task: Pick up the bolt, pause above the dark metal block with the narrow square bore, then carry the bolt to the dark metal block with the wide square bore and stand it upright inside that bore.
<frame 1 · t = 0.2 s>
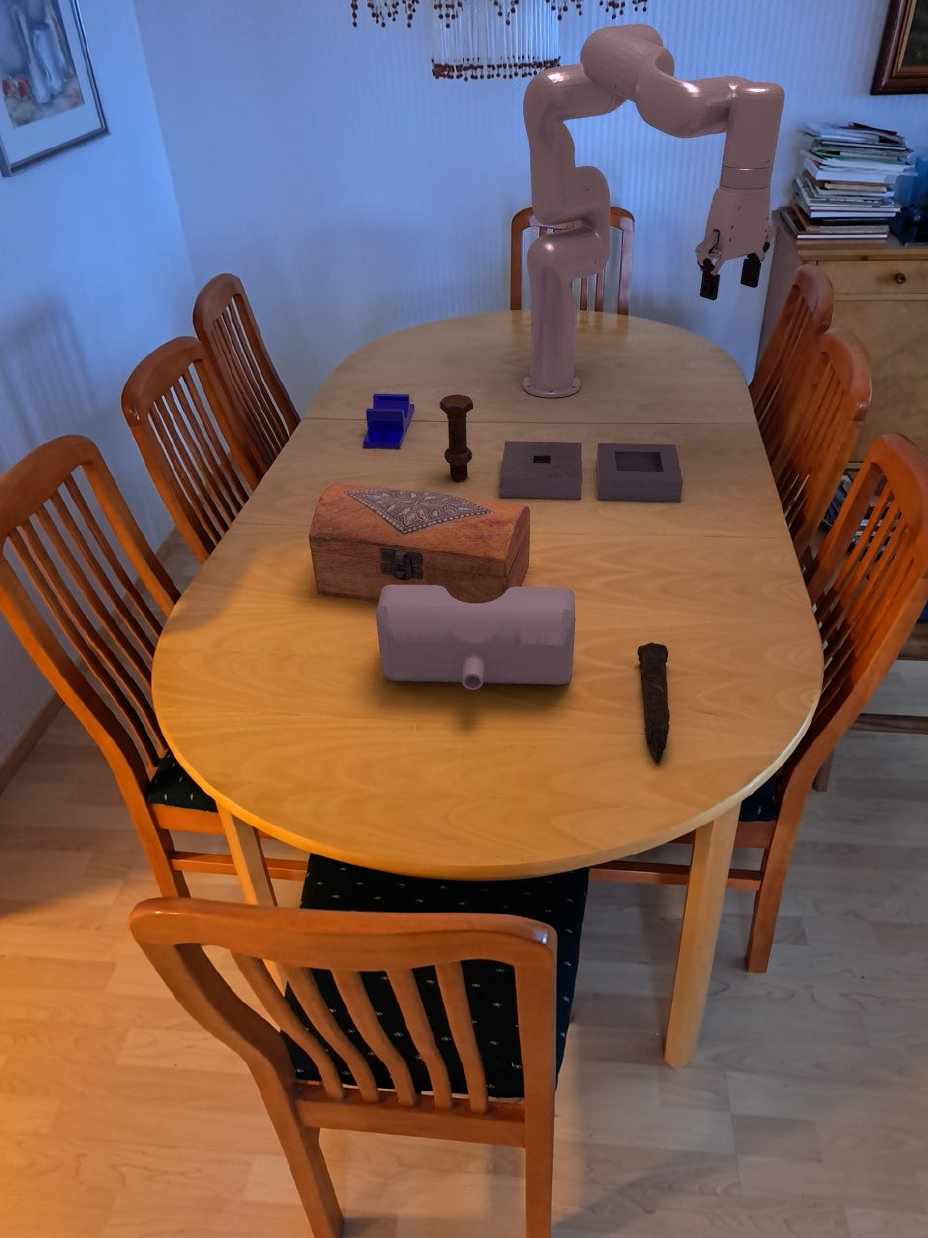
hand: (728, 291, 147), 31 cm above the table, tool pointing down, fingers open, 9 cm apart
bolt: (459, 478, 164), on the table
wide-bore block: (636, 481, 161), on the table
tank: (477, 678, 120), on the table
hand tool: (658, 713, 114), on the table
mounting bracket: (390, 431, 182), on the table
wooden box: (423, 583, 138), on the table
narrow-bore block: (541, 479, 162), on the table
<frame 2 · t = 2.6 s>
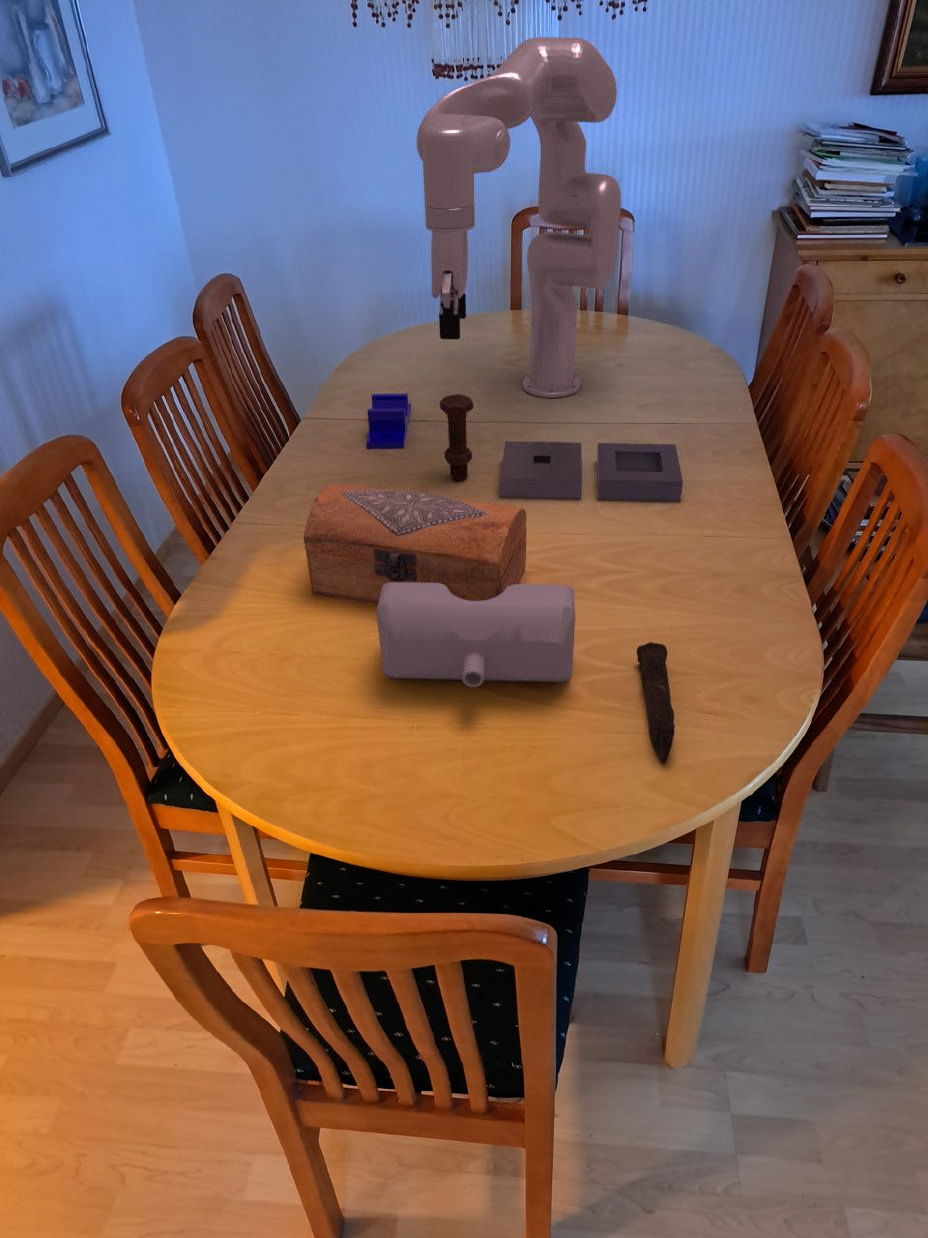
hand: (453, 328, 147), 28 cm above the table, tool pointing down, fingers open, 9 cm apart
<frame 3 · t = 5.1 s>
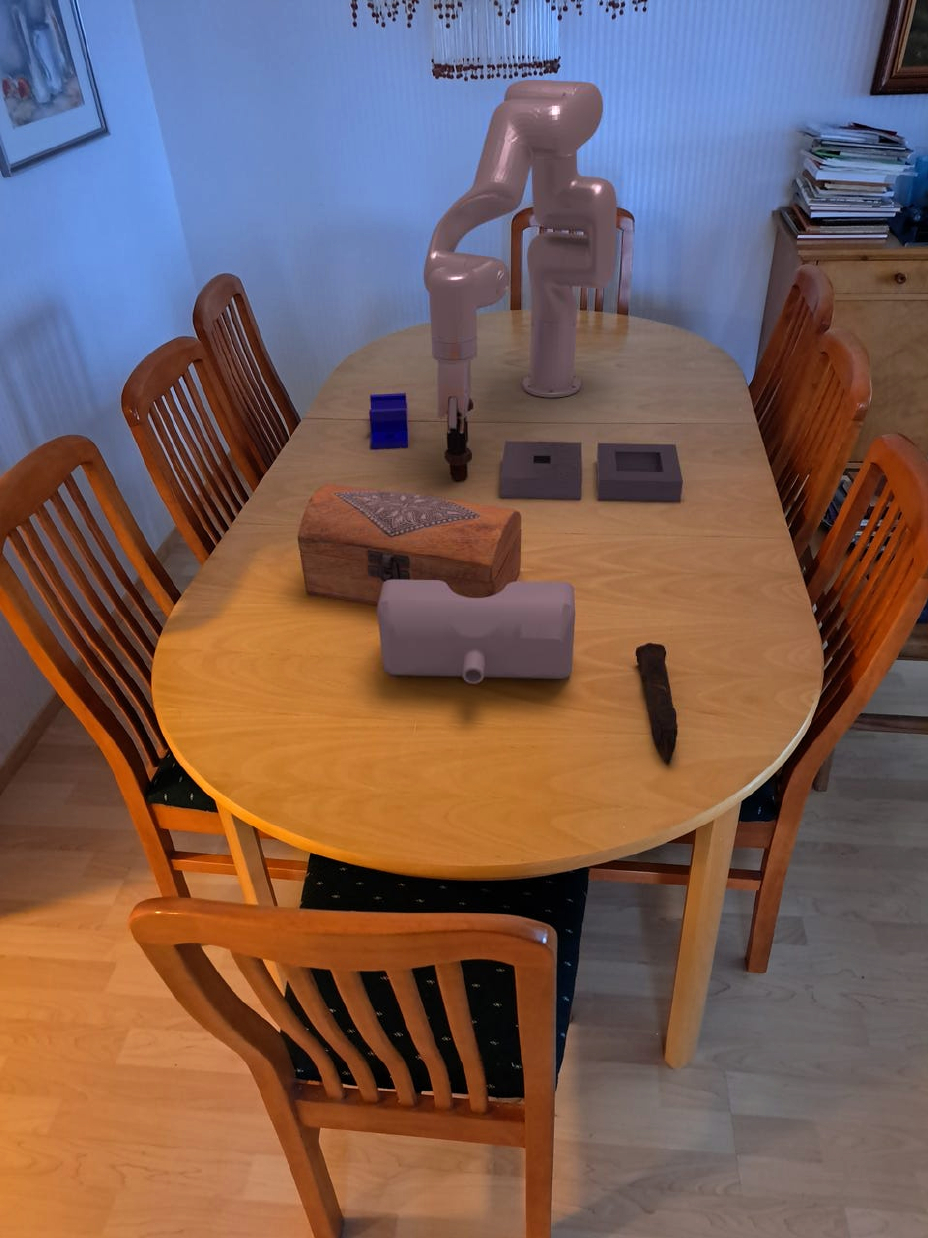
hand: (457, 446, 160), 6 cm above the table, tool pointing down, fingers closed on bolt, 3 cm apart
bolt: (459, 478, 164), on the table, touching gripper
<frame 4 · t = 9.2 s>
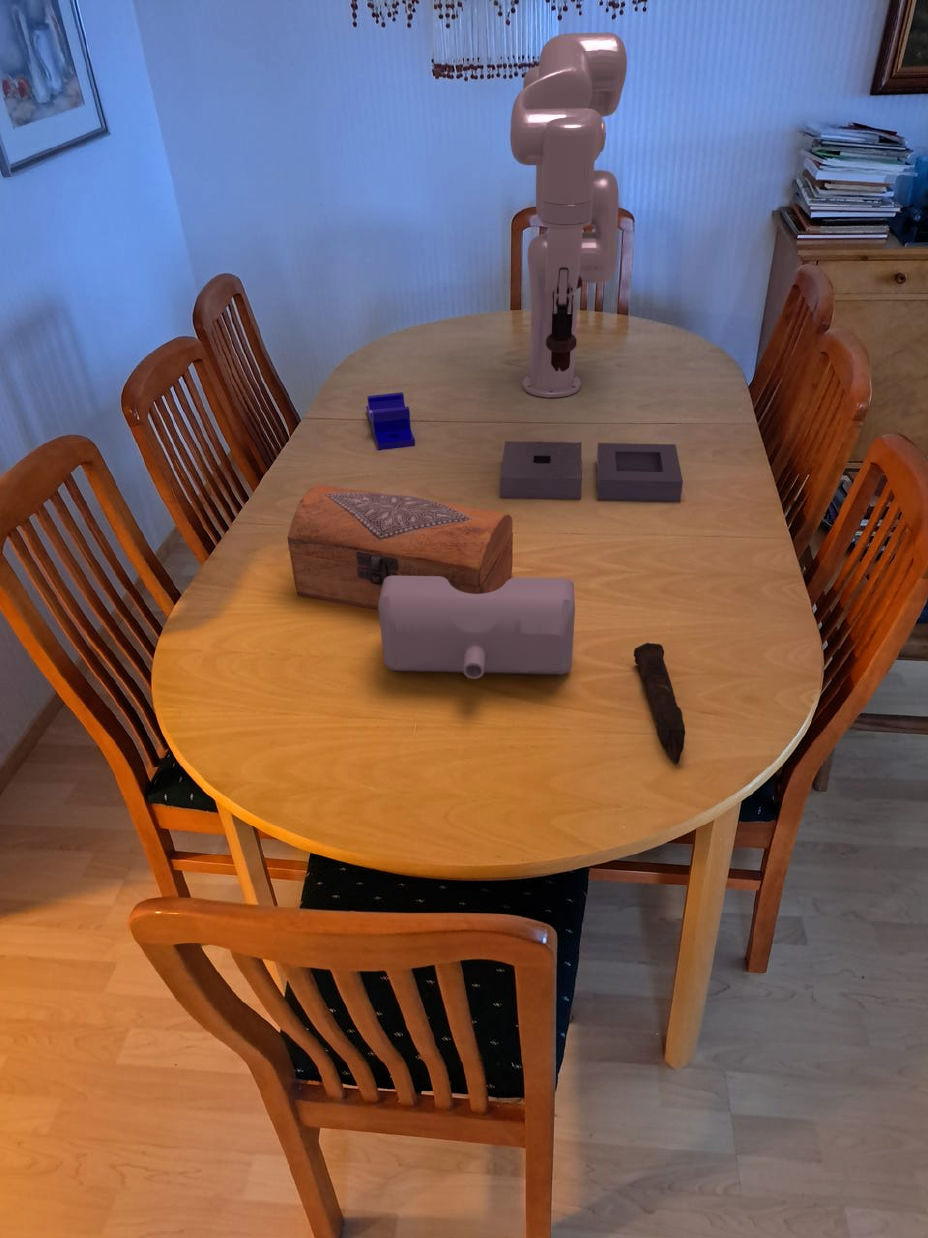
hand: (561, 331, 146), 27 cm above the table, tool pointing down, fingers closed on bolt, 3 cm apart
bolt: (560, 369, 150), point 21 cm above the table, touching gripper
wooden box: (404, 588, 137), on the table
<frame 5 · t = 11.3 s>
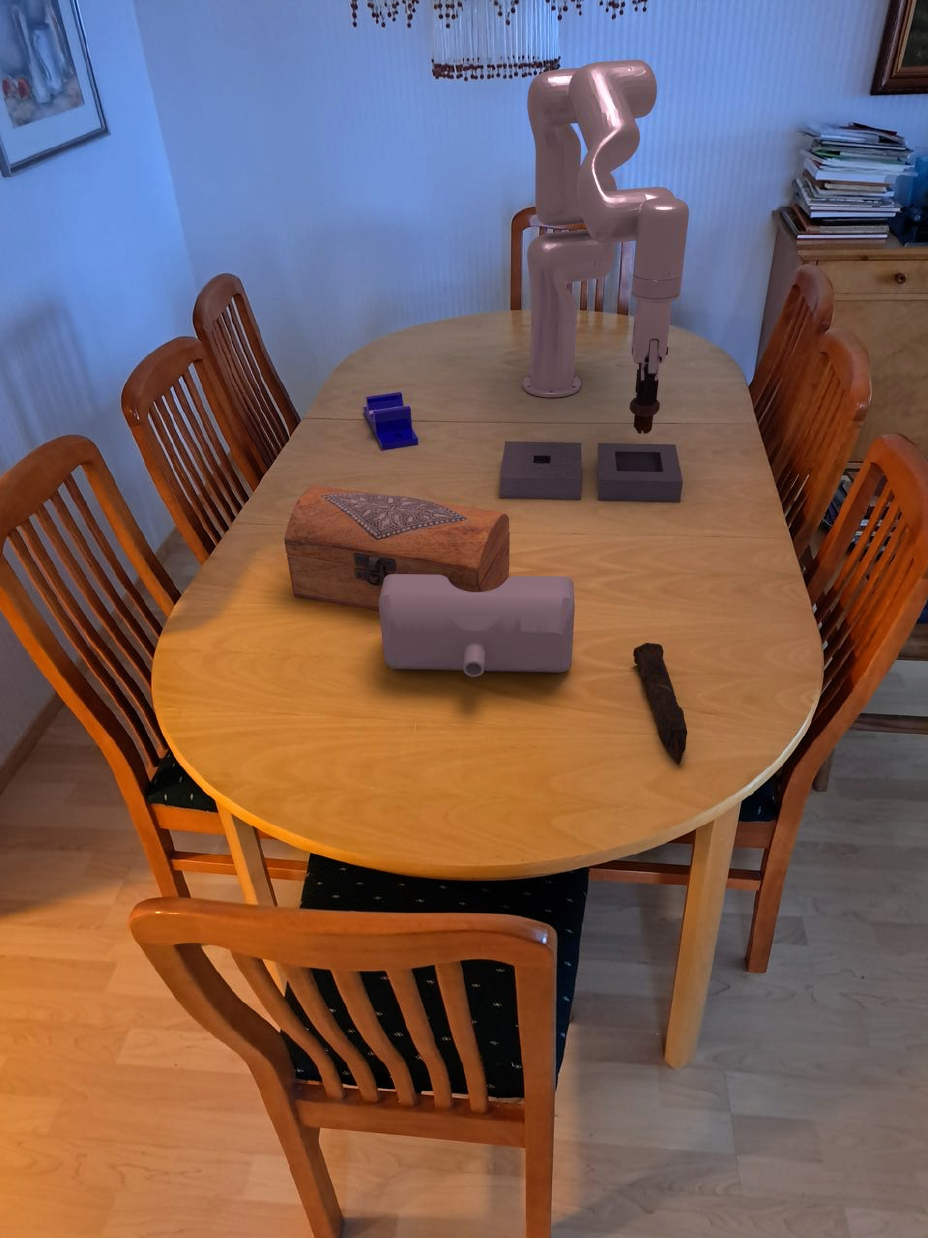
hand: (645, 396, 151), 16 cm above the table, tool pointing down, fingers closed on bolt, 3 cm apart
bolt: (642, 431, 155), point 10 cm above the table, touching gripper
when the fingers open (8 cm above the table, at t = 13.2 s): bolt drops 1 cm, resting in wide-bore block.
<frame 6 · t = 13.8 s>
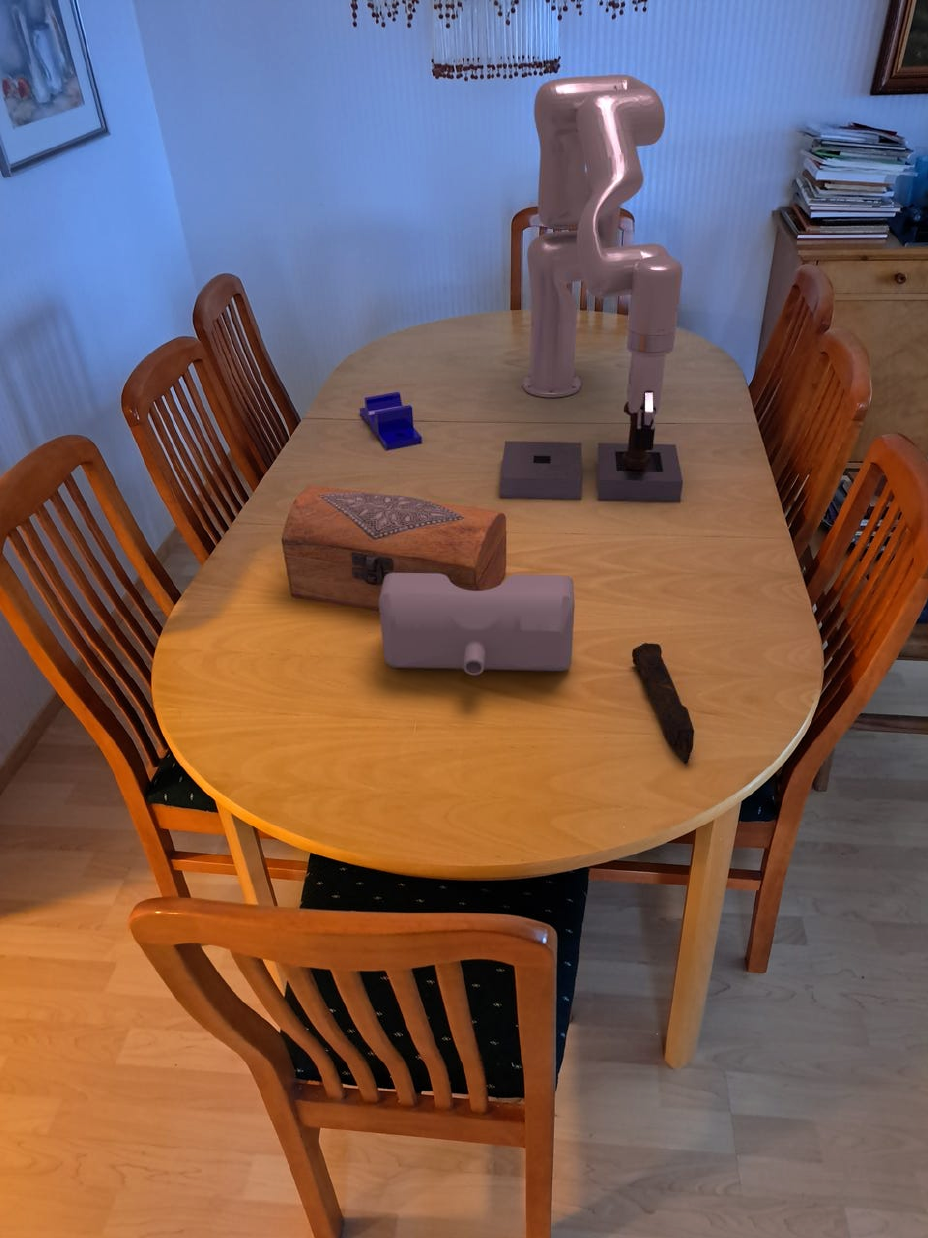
hand: (641, 436, 156), 9 cm above the table, tool pointing down, fingers open, 9 cm apart
bolt: (633, 483, 161), resting in wide-bore block
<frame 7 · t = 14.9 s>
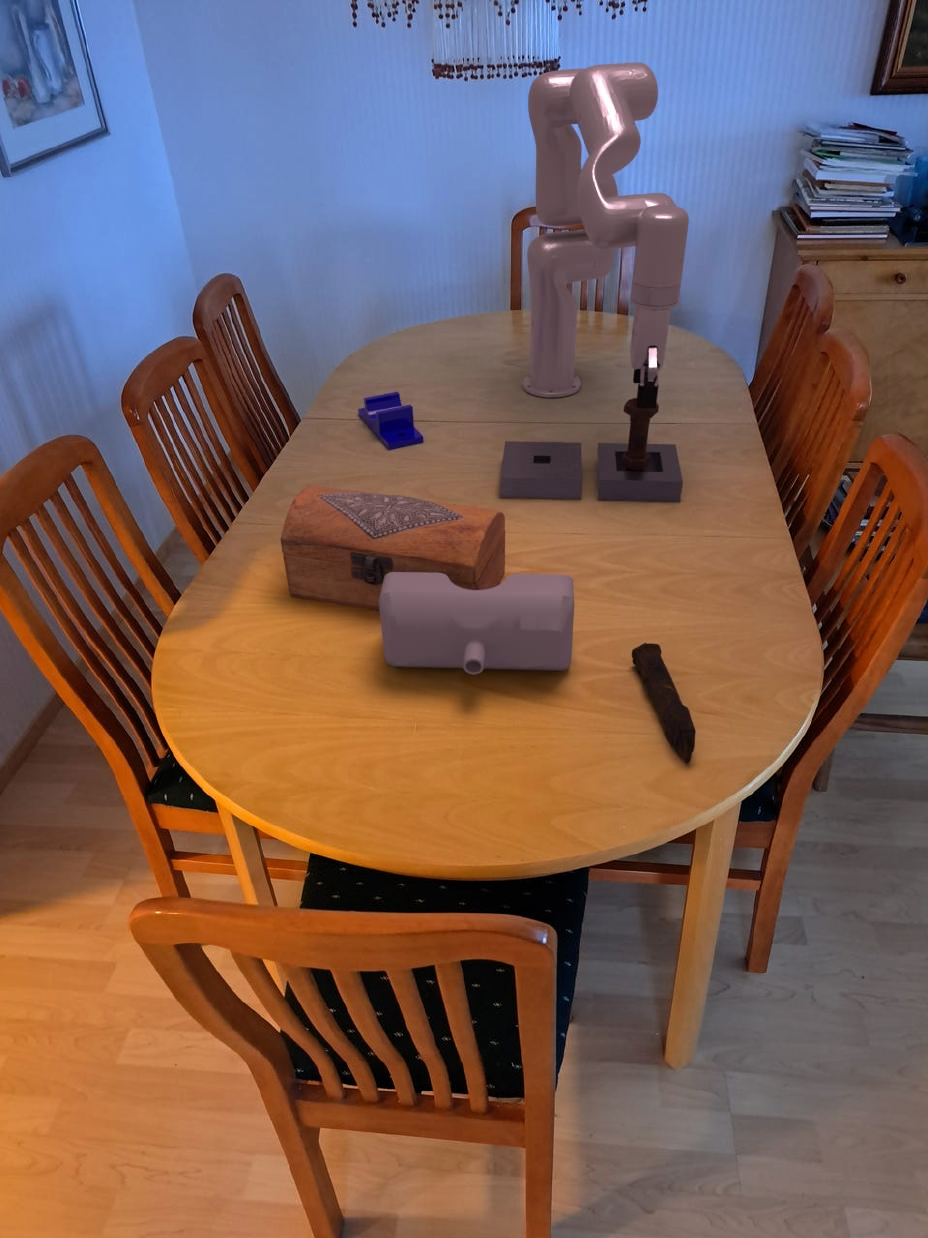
hand: (644, 394, 151), 16 cm above the table, tool pointing down, fingers open, 9 cm apart
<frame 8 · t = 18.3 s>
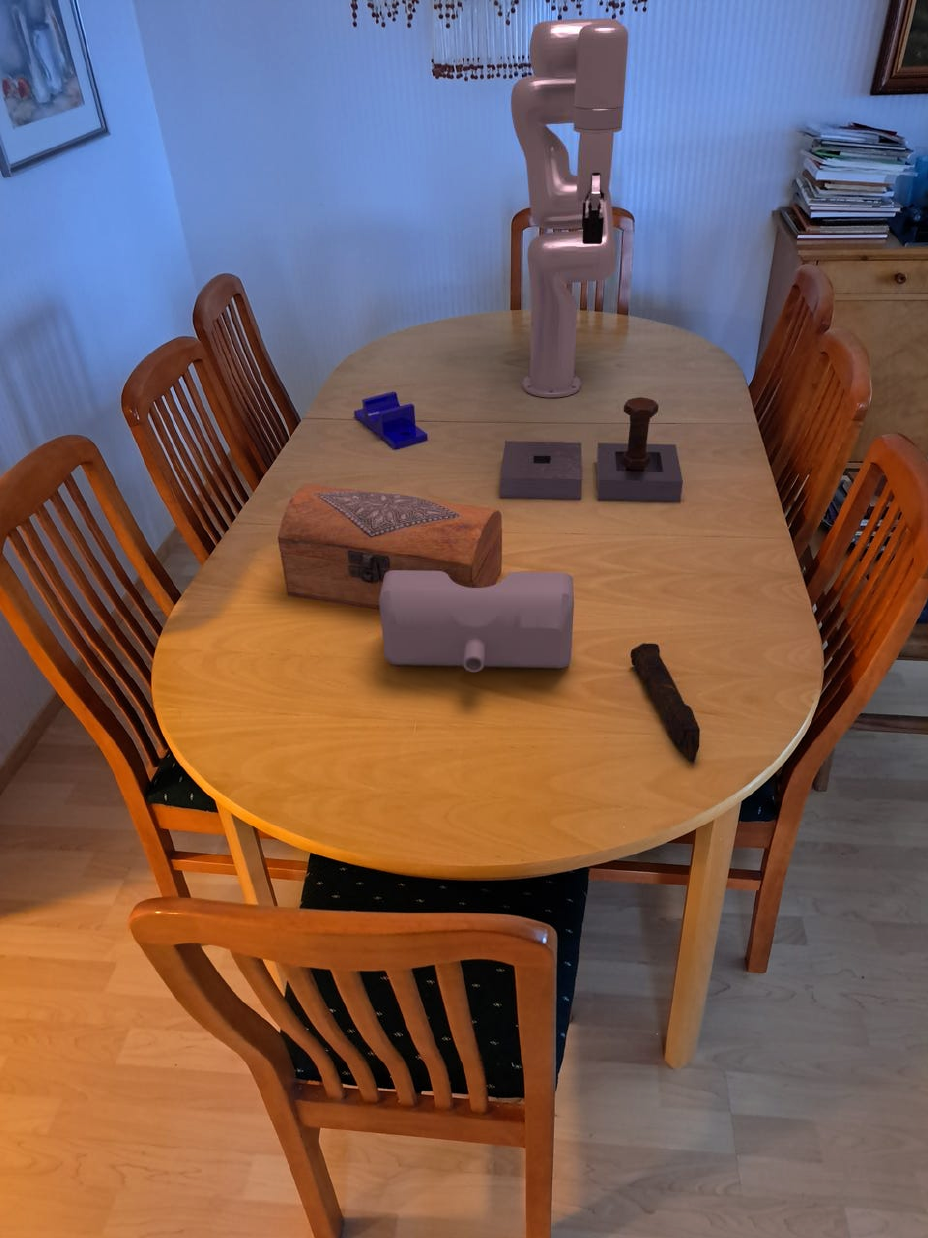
hand: (591, 235, 150), 38 cm above the table, tool pointing down, fingers open, 9 cm apart
at the end: bolt 0.6 cm off-centre on the wide-bore block, point 0.0 cm above the wide-bore block's base; bolt tilted 0°; the gripper is holding nothing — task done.
